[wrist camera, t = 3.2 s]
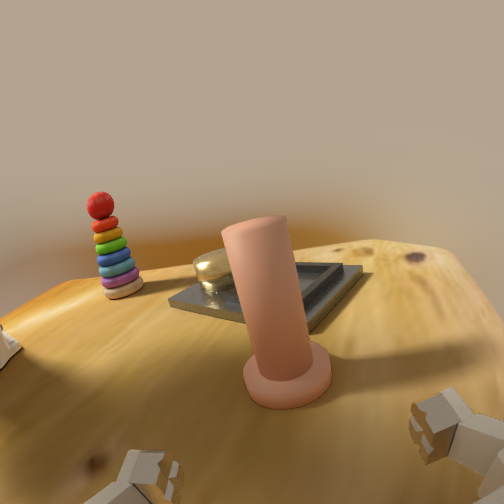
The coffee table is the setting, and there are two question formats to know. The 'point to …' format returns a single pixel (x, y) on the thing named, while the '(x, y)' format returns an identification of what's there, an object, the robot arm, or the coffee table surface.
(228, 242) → the pink peg on base
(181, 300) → the carrier plate
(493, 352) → the coffee table surface
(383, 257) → the coffee table surface
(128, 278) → the stacking toy
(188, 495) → the coffee table surface
